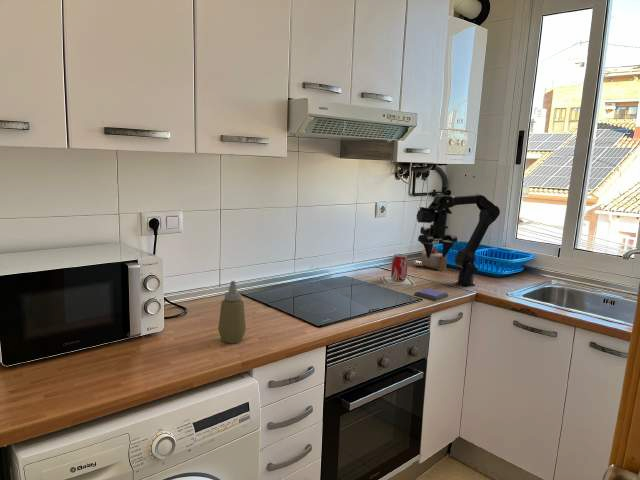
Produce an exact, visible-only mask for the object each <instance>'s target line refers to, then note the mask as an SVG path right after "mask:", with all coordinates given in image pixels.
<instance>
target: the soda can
mask: <svg viewBox="0 0 640 480" xmlns="http://www.w3.org/2000/svg"><path fill="white" fill-rule="evenodd" d="M408 261H409V259H408V258H407V255H406V254H401V253H395V254H394V255H393V257H392V261H391V272H390V273H391V274H390V277H391V279H392V280H393V281H396V282H403V281H405V280H406V277H407V274H408Z"/></svg>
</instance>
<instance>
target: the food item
mask: <svg viewBox="0 0 640 480" xmlns="http://www.w3.org/2000/svg"><path fill="white" fill-rule="evenodd" d="M447 257H448V256H447V255H446V256H445V257H442V253H439V251H438V250H437V249H432V251H431V255H430V257H429V258H427V255H426V251H425V250H424V251H421V259H420V260H421V264H422V265H423V266H426V267H425V268H428V267H429V268H428V269H431V268H432V270H435V269H436V270H435V271H440V270H441V271H445V270H446V268H447V260H448V259H447ZM423 266H422V267H423ZM441 271H440V272H441Z"/></svg>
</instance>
